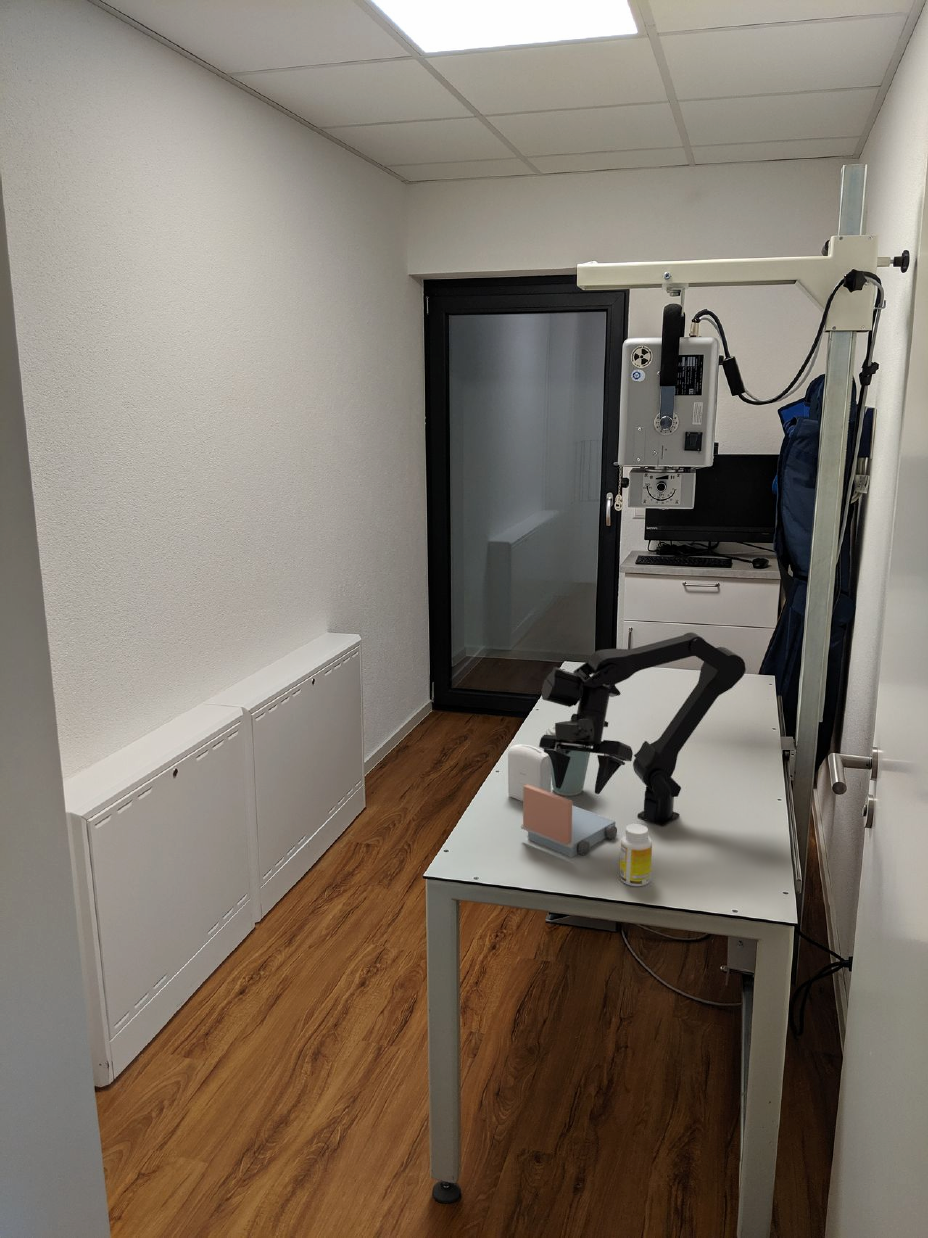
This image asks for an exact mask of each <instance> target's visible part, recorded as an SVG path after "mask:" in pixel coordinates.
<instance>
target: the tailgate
mask: <svg viewBox="0 0 928 1238" xmlns="http://www.w3.org/2000/svg"><path fill="white" fill-rule="evenodd" d="M522 802H523V805H522V806H523V807H522V808H523V809H522V811H523V812H522V813H523V815H522V824H521V825H520V829H521V830H523V831H526V832H531V833H533V834H536V835H538V836H541V837H543V838H546V839H548V840H550V841H553V842H555V843H558V844H560V845H563V846H565V847H568V848H570V849H573V848H574V845H573V844H571V841H572V805H573V800H572V799H568V798H566V797H563V796H562V795H559V794H558V795H557V794H554V793H552V792H551V793H550V792H547V791H544V790H541V789H539V788H536V787H533V786H531V785H528V784H527V785H525V786H524V789H523V801H522Z"/></svg>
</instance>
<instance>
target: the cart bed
mask: <svg viewBox="0 0 928 1238" xmlns="http://www.w3.org/2000/svg"><path fill="white" fill-rule="evenodd" d="M527 832H528V831H527ZM617 833H618V828H617V826H616V821H615V820H613V819H611V818H609V817H605V816H602V815H600V814H597V813H594V812H593V811H589V810H586V809H584V808H580V807H578V806H575V805H573V804H572V841H571V844H573V845H574V848H573V849H570V848H568V847H565V846H563V845H560V844H558V843H555V842H553V841H550V840H548V839H546V838H543V837H541V836H538V835H536V834H533V833H531V832H528V834H527V839H528V840H530V841H532V842H535V843H537V844H540V845H542V846H544V847H547V848H549V849H552V850H555V852H559V853H560V854H564V855H566V856H568V857H571V858H574V857H575V856H577V855H579V854H580V855H581V856H586V855H587V854H589V851H590V850H591V847H593V846H595V845H596V844H598V843H600V842H601V841H604V840H605V839H609V840H613V839H615V837H616V836H617Z"/></svg>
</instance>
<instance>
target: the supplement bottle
mask: <svg viewBox="0 0 928 1238" xmlns="http://www.w3.org/2000/svg"><path fill="white" fill-rule="evenodd" d="M652 849H653V840H652V839H651V837H650V836H649V829H648V827H647V826H646V825H644V824H640V823H631V824H628V825H627V826H626V827H625V833H624V834H623V835H622V836H621V839H620V852H619V853H620V855H619V856H620V859H619V879H620V880H621V882H622V883H623V884H625V885H628V886H630V887H643V886H646V885H647V884H649V883H650V881H651V875H652V855H653V850H652Z"/></svg>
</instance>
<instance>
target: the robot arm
mask: <svg viewBox="0 0 928 1238" xmlns="http://www.w3.org/2000/svg"><path fill="white" fill-rule="evenodd" d="M690 657H696V658H697V659H699V660H701V661H702V662H703V663H702V665H701V668H700V672H699V676H698V681H697V683H696V685H695V687H694V688H693V689H692V691H691V692H690V693H689V695H688V697H686V699H685V700H684V703H683V704H682V705H681V707H680V708H679V710H678V711H677V713H676V714H675V715H674V716H673V718H672V720H671V721H670V722H669V724H668V725H667V727H666V728H665V730H663V732H662V734H661V735H660V736H659V738H658V739H656V740H655V741H653V742H651V743H650V742H648V740H645V741H643V742H642V744H641V747H640V749H639V750H638V751H637V752H636V753H633V749H632V746H630V745H629V744H626V743H624V742H621V741H619V740H611V739H610V740H609V739H603V734H604V728H608V726H609V721H606V717H607V711H608V706H609V701H610V698H614V697H618V696H620V695H622V694H621V691H620V690H619V688H617V686H616V685H618V684H619V683H621V682H623V681H626V680H628V679H630V678H631V677H632V676H633V675H634V674H636V673H638V672H640V671H643V670H647V669H651V668H654V667H658V666H660V665H661V666H662V665H665V664H668V663H672V662H677V661H680V660H684V659H687V658H690ZM746 670H747V669H746V663H745V661H744V659H743V658H742V657H741V656H740V655H738V654H736V652H733V651H732V650H730V649H728V648H726V647H724V646H723V647H722V646H718V647H715V646H713V645H712V644H711V643H709V642H708V641H706V640H705V639H704V638H703V637H702V636H700V635H698V634H697V633H695V632H686V633H684V634H683V635H679V636H676V637H673V638H672V637H671V638H667V639H665V640H661V641H657V642H653V643H649V644H646V645H641V646H637V647H634V648H608V649H607V648H606V649H598V650H596V651H594V652H593V653H592V654H591V656H590V658H589V659H588V660H587V661H586V662H585V663H583V664H581V665H580V666H579V667H577V668H576V669H575V670H574V671H573V672H571V671H566V670H563V669H562V668H561V667H556V666H554V667H552V671H551V672H549V673H548V675H547V676H546V678H545V679H544V681H543V684H542V688H541V698H542V700H543V701H547V702H551V703H554V704H557V705H560V706H564V707H568V708H571V707H573V706H577V710H576V713H572V715H571V716H570V719H569V720H567V721H559V722H555V723H554V725H555V735H546V734H544V735H542V736H541V737H540V739H539V745H538V748H541V750H542V749H543V750H542V751H543V752H545V753H546V754H547V755H548V756H549V757H550V759H551V762H552V766H553V771H554V778H555V785H556V788H558V789H560V788H561V786H562V784H563V781H564V778H565V774H566V771H567V768H568V765H569V761H570V758H571V757H569V756H567V754H568V753H570V752H571V751H579V752H588V753H590V754H597V762H598V769H597V774H596V780H595V784H594V794H596V795H599V794H600V793H602V791H603V790H604V788H605V787H606V785H607V784H608V782H609V781H610V779H611V778H612V777H613V776H614V775H615V774H616V772H617V771H618V769H620V768H621V766H625V765H626V762H632V761H633V762H632V767H633V772H634V773H635V775H636V776H637V777H638V779H640V781H641V782H642V783H643V784H644V785H645V786H646V787H645V791H644V800H643V810H641V812H638V813H637V817H638V818H639V819H642V820H645V821H648V822H651V823H653V824H656V825H659V826H666V825H667V824H670V823H671V822H672V821H674V820H675V819H678V818H679V817H680V813H679V812H676V811H674V803H675V802H674V801H675V800H674V799H675V798H677V797H679V795H680V793H681V791H682V787H681V786H680V784H678V783H677V782H676V780H675V779H674V778H673V777H672V776H673V774H674V772H675V770H676V767H677V766H676V765H677V761H678V756H679V753H680V751H681V750H682V749H683V747H684V745H685V744H686V743H687V741H688V740H689V738H690V737H691V736H692V735H693V733H694V731H695V730H696V729H697V727H698V726H699V724H700V723H701V721H702V720H703V719H704V717H705V716H706V714H707V713H708V711H709V710H710V708H711V707H712V706H713V704H715V702H716V700H717V699H718V698H719V697H720V696H721V695H722V694H725V693H727V692H728V691H729V690H730V691H731V690H732V688H734V687H735V686H736V684H738V682H739V681H740V680H741V679H743V677H744V675H745V673H746ZM577 704H578V705H577ZM589 746H591V748H588V747H589ZM580 747H582V748H580ZM633 754H634V755H633ZM633 757H634V760H632V759H633Z"/></svg>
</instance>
